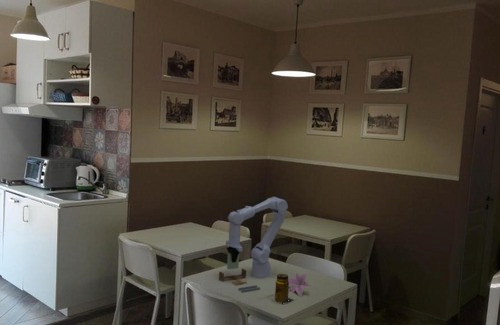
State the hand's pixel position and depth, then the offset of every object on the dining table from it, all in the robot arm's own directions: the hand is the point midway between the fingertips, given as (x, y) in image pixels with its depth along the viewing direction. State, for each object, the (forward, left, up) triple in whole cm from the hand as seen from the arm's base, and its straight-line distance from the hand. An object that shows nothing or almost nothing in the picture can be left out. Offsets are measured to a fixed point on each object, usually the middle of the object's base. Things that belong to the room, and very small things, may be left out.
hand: (233, 261), depth 231 cm
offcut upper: (0, +7, -9) cm, 11 cm away
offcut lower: (0, +7, -10) cm, 12 cm away
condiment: (-10, +31, -11) cm, 34 cm away
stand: (0, +17, -10) cm, 20 cm away
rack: (0, +3, -10) cm, 11 cm away
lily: (-23, +26, -11) cm, 36 cm away
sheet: (0, 0, -3) cm, 3 cm away
